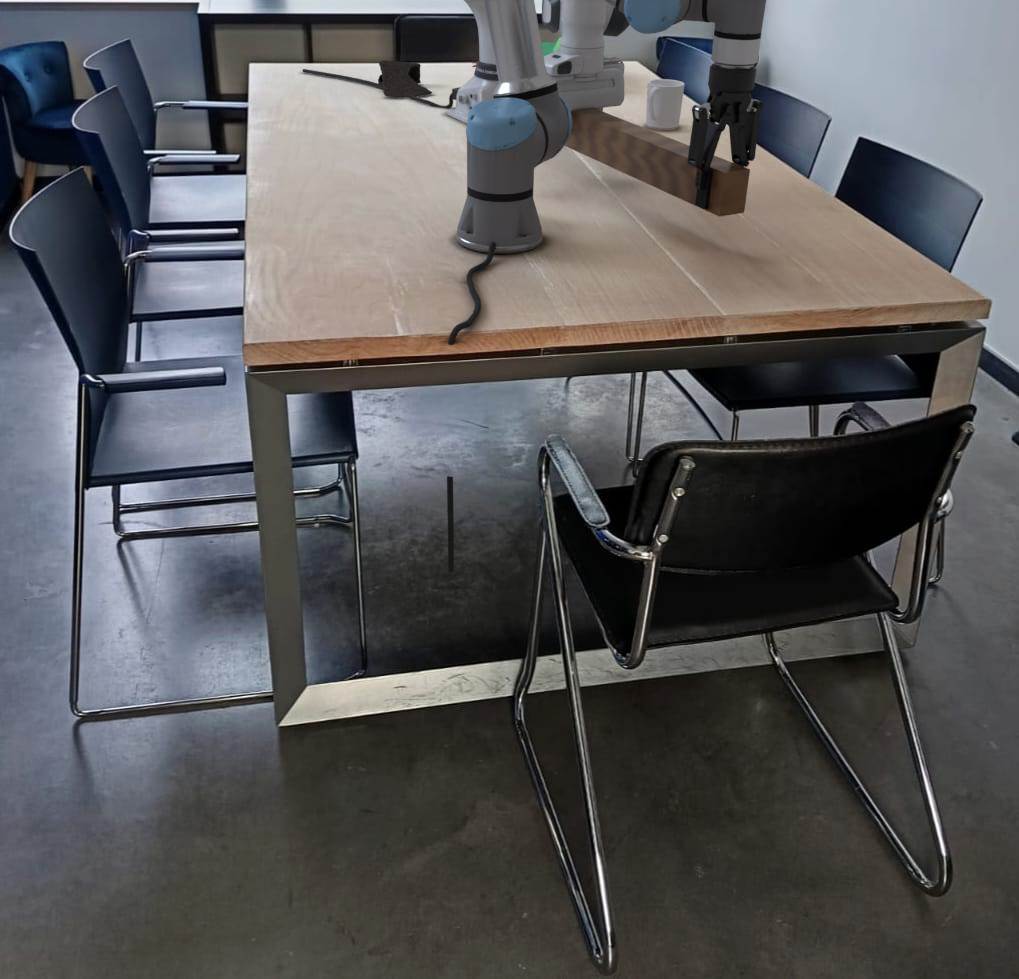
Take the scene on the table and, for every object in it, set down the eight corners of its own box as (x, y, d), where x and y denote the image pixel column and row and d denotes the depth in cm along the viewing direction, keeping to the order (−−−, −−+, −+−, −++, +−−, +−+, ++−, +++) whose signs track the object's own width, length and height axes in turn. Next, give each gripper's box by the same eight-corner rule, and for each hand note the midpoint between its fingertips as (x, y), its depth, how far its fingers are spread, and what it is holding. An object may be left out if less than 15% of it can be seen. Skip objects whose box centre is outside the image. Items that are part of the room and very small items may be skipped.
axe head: (443, 87, 294) (392, 77, 287) (436, 115, 299) (385, 106, 292) (421, 62, 307) (371, 52, 300) (414, 89, 311) (365, 80, 304)
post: (744, 212, 188) (750, 169, 184) (719, 216, 186) (724, 172, 182) (576, 138, 229) (578, 101, 225) (554, 141, 227) (556, 104, 223)
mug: (656, 120, 276) (660, 77, 271) (687, 126, 272) (691, 82, 266) (632, 127, 269) (635, 84, 264) (663, 134, 264) (667, 89, 259)
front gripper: (761, 56, 185) (742, 192, 197) (674, 64, 177) (659, 205, 189) (792, 64, 179) (770, 204, 192) (703, 72, 171) (686, 217, 184)
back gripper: (615, 53, 223) (610, 123, 230) (529, 61, 214) (526, 133, 221) (633, 59, 218) (628, 130, 225) (545, 67, 209) (543, 140, 217)
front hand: (715, 204), depth 190 cm, fingers closed on post, 5 cm apart
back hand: (577, 131), depth 223 cm, fingers closed on post, 5 cm apart
